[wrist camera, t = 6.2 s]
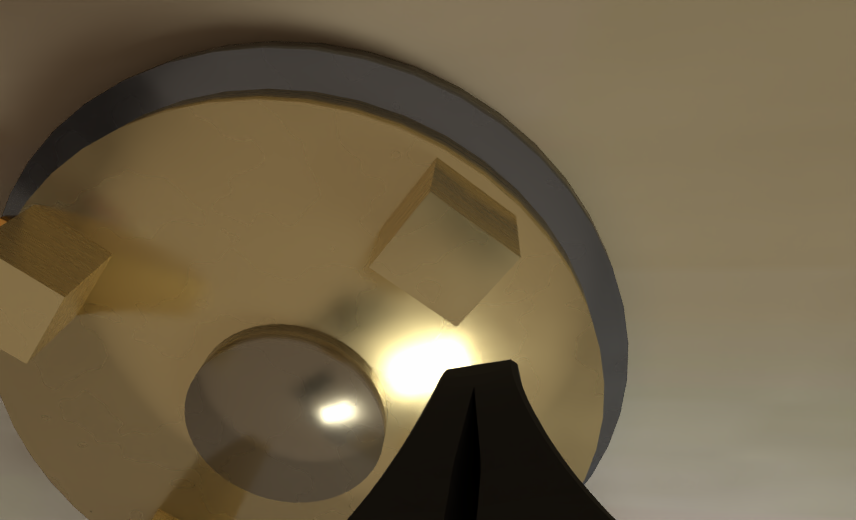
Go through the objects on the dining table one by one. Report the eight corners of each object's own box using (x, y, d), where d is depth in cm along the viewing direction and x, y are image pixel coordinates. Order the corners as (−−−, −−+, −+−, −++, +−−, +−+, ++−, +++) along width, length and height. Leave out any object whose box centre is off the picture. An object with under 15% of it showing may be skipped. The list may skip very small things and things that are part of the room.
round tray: (582, 42, 17) (608, 73, 14) (606, 569, 25) (626, 673, 22) (-90, 134, 20) (-213, 180, 16) (129, 588, 28) (78, 683, 24)
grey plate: (754, 360, 23) (770, 387, 21) (348, 633, 30) (342, 665, 29) (251, -138, 17) (232, -143, 16) (-87, 347, 25) (-118, 370, 24)
